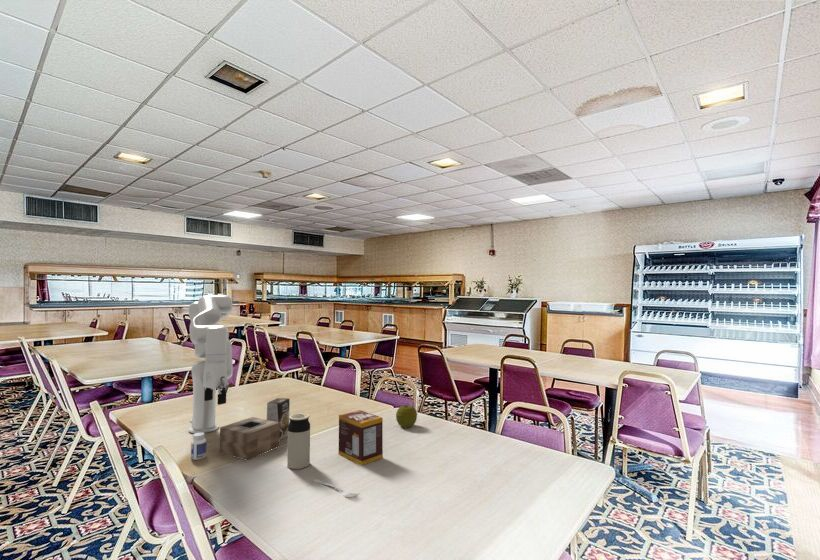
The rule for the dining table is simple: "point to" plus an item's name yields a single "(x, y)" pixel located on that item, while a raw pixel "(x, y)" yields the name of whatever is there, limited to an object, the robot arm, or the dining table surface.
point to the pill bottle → (198, 446)
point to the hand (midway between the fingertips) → (215, 402)
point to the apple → (406, 416)
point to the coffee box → (279, 414)
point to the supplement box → (360, 436)
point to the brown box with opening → (249, 437)
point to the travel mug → (298, 441)
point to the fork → (337, 488)
